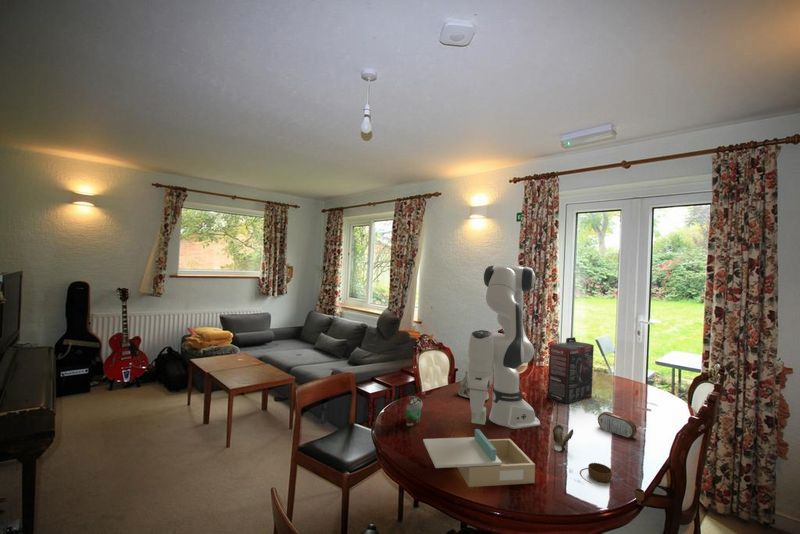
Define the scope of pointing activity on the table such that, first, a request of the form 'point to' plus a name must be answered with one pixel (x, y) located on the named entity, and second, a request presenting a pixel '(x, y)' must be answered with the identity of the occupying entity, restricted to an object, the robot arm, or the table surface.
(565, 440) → the eagle figurine
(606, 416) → the tin
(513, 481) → the box
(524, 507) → the table surface
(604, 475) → the place setting
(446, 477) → the table surface
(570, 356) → the headset box
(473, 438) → the lid
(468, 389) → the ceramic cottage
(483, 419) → the cube
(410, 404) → the food container
